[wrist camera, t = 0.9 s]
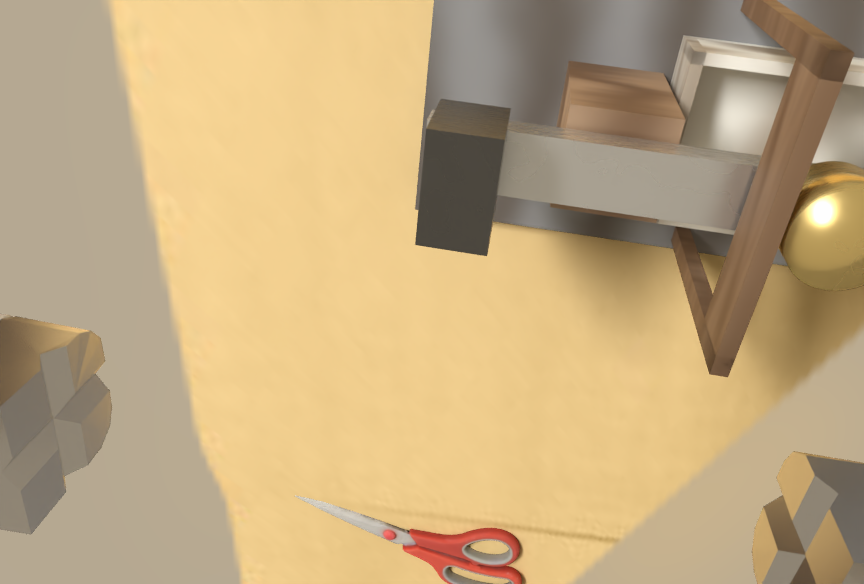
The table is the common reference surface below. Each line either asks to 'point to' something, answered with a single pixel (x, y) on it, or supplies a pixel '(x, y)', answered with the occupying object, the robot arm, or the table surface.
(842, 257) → the brass spacer
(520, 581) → the scissors
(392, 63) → the table surface
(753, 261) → the shaft stand
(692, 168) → the steel shaft
